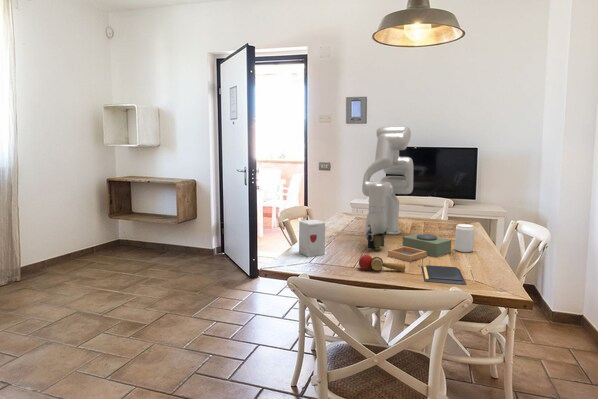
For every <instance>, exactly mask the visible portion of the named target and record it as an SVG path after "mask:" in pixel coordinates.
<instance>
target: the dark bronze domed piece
mask: <svg viewBox="0 0 598 399" xmlns="http://www.w3.org/2000/svg"><path fill="white" fill-rule="evenodd" d="M371 234H372V233H371ZM370 237H372V235H370ZM373 241H374V249H371V250H372V251H373V252H374V251H375V252H378V251H380V249H381V247H382V245H383V241H384V242H385V238H384V234H383V236H382V234H380V235H379V234H377V235H375V236H374V239H373Z"/></svg>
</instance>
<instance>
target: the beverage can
mask: <svg viewBox="0 0 598 399" xmlns="http://www.w3.org/2000/svg"><path fill="white" fill-rule="evenodd" d="M454 238H455V239H454V250H456V251H457V252H460V253H471V252H473V251H474V243H475V242H474V241H475V228H474V225H472V224H467V223H459V224H456V227H455V235H454Z"/></svg>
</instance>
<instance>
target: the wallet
mask: <svg viewBox="0 0 598 399" xmlns="http://www.w3.org/2000/svg"><path fill="white" fill-rule="evenodd" d="M421 271H422V272H421V273H422V275H423V281H424V282H425V283H432V284H433V283H435V284H448V285H458V286H459V285H460V286H467V282H466V280H465V278H464V276H463V274H462V272H461V269H460V268H458V267H457V266H456V267H455V266H445V265H444V266H443V265H426V266H425V265H421Z"/></svg>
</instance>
